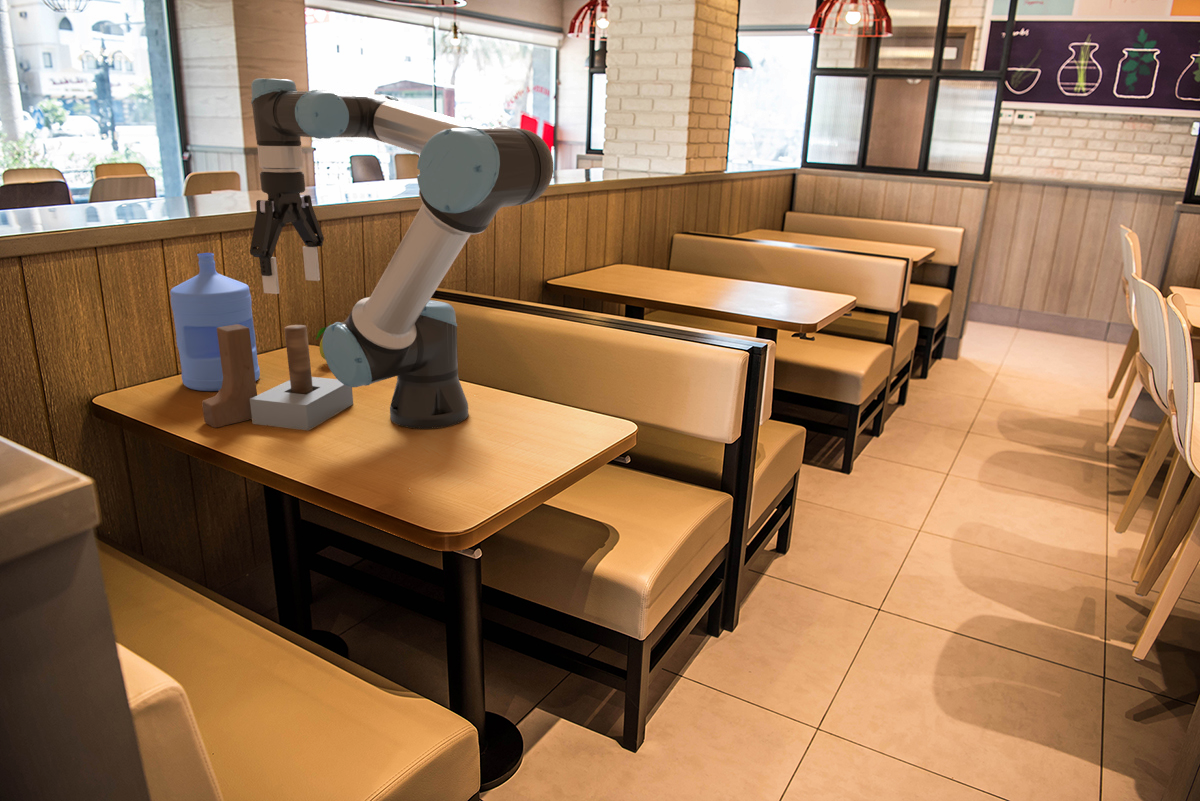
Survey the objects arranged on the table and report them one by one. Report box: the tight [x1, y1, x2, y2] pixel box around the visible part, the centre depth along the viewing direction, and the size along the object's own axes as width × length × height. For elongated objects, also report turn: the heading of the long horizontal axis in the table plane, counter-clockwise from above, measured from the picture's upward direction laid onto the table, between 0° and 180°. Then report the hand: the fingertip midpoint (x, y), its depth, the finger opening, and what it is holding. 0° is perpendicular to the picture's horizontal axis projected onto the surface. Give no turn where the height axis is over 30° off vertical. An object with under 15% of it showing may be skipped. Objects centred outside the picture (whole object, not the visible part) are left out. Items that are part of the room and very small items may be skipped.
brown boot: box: [201, 324, 258, 429], centre depth 156 cm, size 9×4×18 cm, turn 137°
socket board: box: [250, 376, 354, 431], centre depth 162 cm, size 16×12×5 cm
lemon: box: [315, 322, 331, 361], centre depth 195 cm, size 7×6×10 cm
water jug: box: [169, 252, 261, 392], centre depth 177 cm, size 16×16×28 cm
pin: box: [284, 324, 313, 395], centre depth 160 cm, size 4×4×16 cm
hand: (293, 286), depth 156 cm, fingers open, 13 cm apart
